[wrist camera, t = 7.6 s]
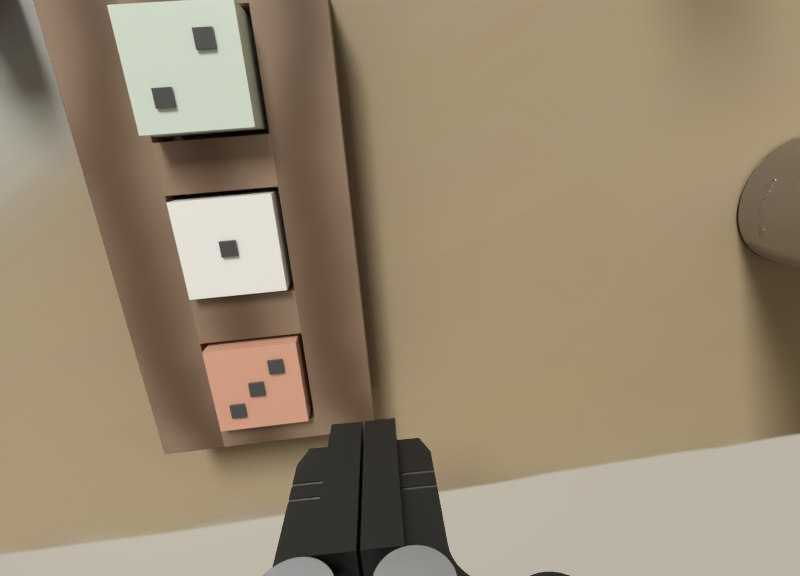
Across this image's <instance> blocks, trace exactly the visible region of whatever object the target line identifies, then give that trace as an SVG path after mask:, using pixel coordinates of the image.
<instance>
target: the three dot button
mask: <svg viewBox="0 0 800 576" xmlns="http://www.w3.org/2000/svg"><path fill="white" fill-rule="evenodd" d="M202 355H203V359H204V363H205V367H206V371H207V376H208V380H209V384H210V388H211V392H212V397H213V401H214V405H215V409H216V413H217V418H218V422H219V426H220V430H221V431H230V430H238V429H247V428H255V427H264V426H272V425H280V424H289V423H297V422H306V421H309V416H310V410H311V404H312V397H311V391H310V385H309V378H308V372H307V366H306V359H305V353H304V347H303V340H302V334H301V333H297V334H288V335H279V336H269V337H260V338H250V339H241V340H231V341H222V342H213V343H209V344H208V346H207V347H206V348H205V350H204V351H203V352H202Z"/></svg>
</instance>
